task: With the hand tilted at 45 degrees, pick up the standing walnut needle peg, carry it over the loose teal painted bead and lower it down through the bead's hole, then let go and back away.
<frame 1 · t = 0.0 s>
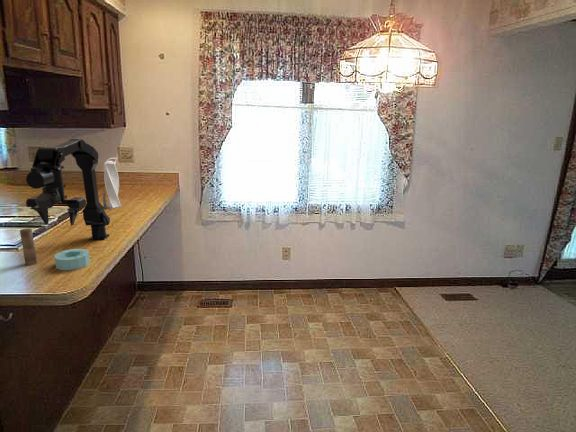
hand: (59, 224, 143), 15 cm above the worktop, fingers open, 9 cm apart
bead: (73, 264, 145), on the worktop
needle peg: (31, 263, 145), on the worktop
skyscraper: (113, 207, 225), on the worktop
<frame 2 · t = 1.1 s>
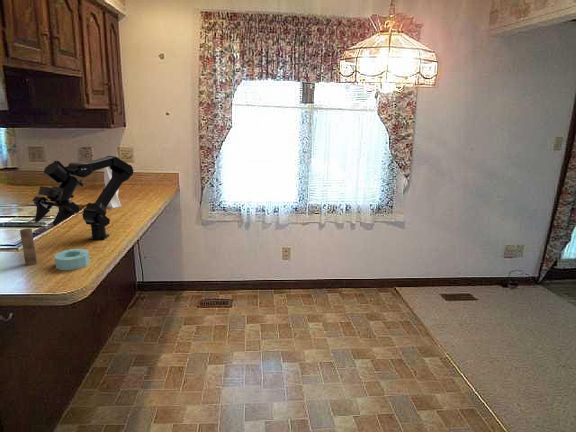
hand: (44, 223, 148), 13 cm above the worktop, fingers open, 9 cm apart
nothing on the worktop moved.
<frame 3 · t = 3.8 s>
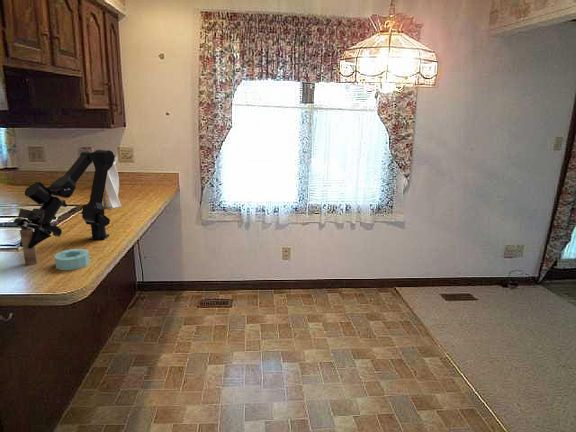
hand: (24, 247, 142), 7 cm above the worktop, fingers closed on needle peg, 4 cm apart
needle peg: (31, 263, 145), on the worktop, touching gripper
everything else where it was.
when the fingers open (8 cm above the worktop, at t = 8.6 s): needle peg stays where it is, resting in bead.
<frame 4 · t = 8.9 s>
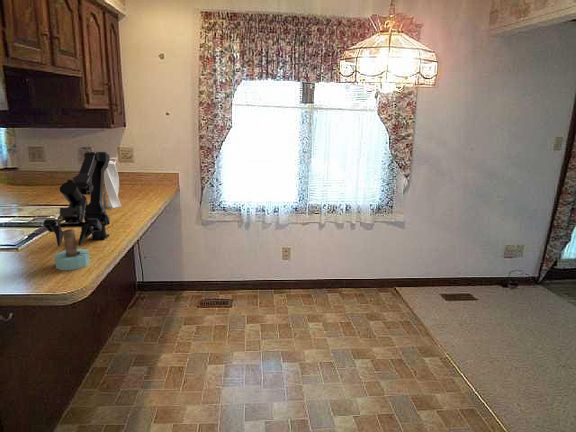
hand: (69, 245, 142), 8 cm above the worktop, fingers open, 7 cm apart
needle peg: (73, 264, 145), resting in bead
everything else where it was.
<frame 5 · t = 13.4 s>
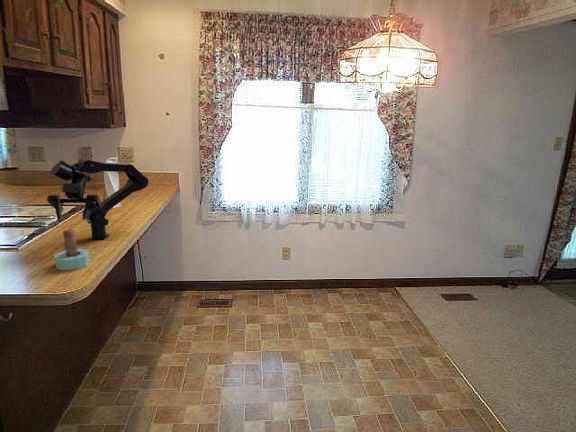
hand: (70, 219, 154), 14 cm above the worktop, fingers open, 9 cm apart
nothing on the worktop moved.
at the end: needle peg 0.0 cm from the bead (horizontally); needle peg resting in bead; the gripper is holding nothing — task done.
